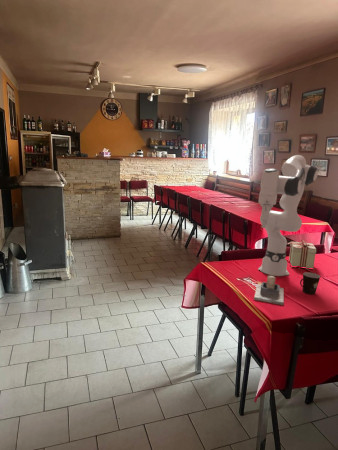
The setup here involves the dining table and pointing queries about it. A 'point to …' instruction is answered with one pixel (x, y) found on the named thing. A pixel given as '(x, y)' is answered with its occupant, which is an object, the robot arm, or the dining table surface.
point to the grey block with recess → (269, 294)
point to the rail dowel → (270, 282)
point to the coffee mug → (310, 283)
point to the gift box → (302, 254)
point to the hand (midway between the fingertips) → (264, 226)
